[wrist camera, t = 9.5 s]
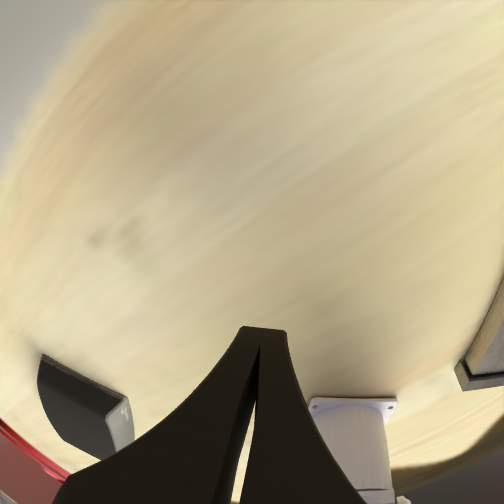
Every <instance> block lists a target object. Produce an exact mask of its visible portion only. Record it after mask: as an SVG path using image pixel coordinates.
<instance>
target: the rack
mask: <svg viewBox="0 0 504 504" xmlns="http://www.w3.org/2000/svg"><path fill="white" fill-rule="evenodd" d="M464 359H465V361H459V363H458V365H457V367H456V368H455V370H454V371H455V374H456V376H457V379H458V381H459V384H460V386H461V389H462V391H470V390H477V389H485V388H491V387H497V386H503V385H504V277H503V279H502V282H501V284H500V287H499V289H498V292H497V294H496V296H495V299H494V301H493V303H492V306H491V308H490V310H489V312H488V314H487V316H486V319H485V321H484V323H483V325H482V327H481V329H480V331H479V333H478V335H477V337H476V338H475V340H474V342H473V344H472V346H471V348H470V350H469V351H468V353H467V355H466V357H465V358H464Z"/></svg>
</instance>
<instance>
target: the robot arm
mask: <svg viewBox="0 0 504 504" xmlns="http://www.w3.org/2000/svg"><path fill="white" fill-rule="evenodd" d="M255 400H256V403H255ZM254 404H255V421H254V431H253V437H252V442H251V447H250V453H249V458H248V463H247V468H246V473H245V478H244V483H243V488H242V493H241V497H240V502H239V504H395V496H394V489H392V480H391V471H390V462H389V454H388V447H387V440H386V433H385V426H384V425H385V423H386V422H387V420H388V419H389V417H390V415H391V414H392V412H393V411H394V409H395V407H396V406H397V404H398V401H397V399H396V398H383V399H354V398H323V397H315V398H312V399H311V401H310V404H309V407H307V404H306V402H305V400H304V397H303V395H302V392H301V389H300V386H299V384H298V381H297V378H296V375H295V372H294V368H293V365H292V361H291V357H290V353H289V348H288V342H287V333H286V332H285V331H284V330H276V329H267V328H258V327H249V326H243V327H241V328H240V329H239V331H238V333H237V335H236V337H235V338H234V340H233V342H232V343H231V345H230V346H229V348H228V349H227V351H226V352H225V354H224V355H223V356H222V358H221V359H220V360H219V362H218V363H217V364H216V365H215V367H214V368H213V369H212V371H211V372H210V373H209V374H208V375H207V377H206V378H205V379H204V380H203V381H202V382H201V383H200V384H199V386H198V387H197V388H196V389H195V390H194V391H193V392H192V393H191V394H190V395H189V396H188V397H187V398H186V399H185V400H184V401H183V402H182V403H181V404H180V405H179V406H178V407H177V408H176V409H175V410H174V411H172V412H171V413H170V414H169V415H168V416H167V417H166V418H164V419H163V420H162V421H161V422H159V423H158V424H157V425H156V426H154V427H153V428H152V429H150V430H149V431H148V432H146V433H145V434H144V435H142V436H141V437H139V438H138V439H137V440H135V441H133V442H132V443H130V444H129V445H127V446H125V447H124V448H122V449H121V450H119V451H117V452H116V453H114V454H112V455H111V456H109V457H107V458H105V459H103V460H101V461H99V462H97V463H95V464H93V465H91V466H89V467H87V468H85V469H82V470H80V471H78V472H76V473H74V474H71V475H69V476H68V477H67V479H66V480H65V482H64V483H63V485H62V486H61V488H60V489H59V491H58V492H57V495H56V496H55V499H54V501H53V503H52V504H230V502H231V497H232V492H233V486H234V481H235V476H236V470H237V466H238V462H239V458H240V454H241V451H242V447H243V444H244V440H245V437H246V433H247V430H248V426H249V423H250V419H251V415H252V412H253V408H254ZM396 502H397V504H411V502H410V500H407V499H405V498H404V496H400V497H397V499H396ZM0 504H18V503H16V502H15V501H14V500H12V499H11V498H10V497H8V496H7V495H6V494H4V493H3V492H2V491H1V490H0Z"/></svg>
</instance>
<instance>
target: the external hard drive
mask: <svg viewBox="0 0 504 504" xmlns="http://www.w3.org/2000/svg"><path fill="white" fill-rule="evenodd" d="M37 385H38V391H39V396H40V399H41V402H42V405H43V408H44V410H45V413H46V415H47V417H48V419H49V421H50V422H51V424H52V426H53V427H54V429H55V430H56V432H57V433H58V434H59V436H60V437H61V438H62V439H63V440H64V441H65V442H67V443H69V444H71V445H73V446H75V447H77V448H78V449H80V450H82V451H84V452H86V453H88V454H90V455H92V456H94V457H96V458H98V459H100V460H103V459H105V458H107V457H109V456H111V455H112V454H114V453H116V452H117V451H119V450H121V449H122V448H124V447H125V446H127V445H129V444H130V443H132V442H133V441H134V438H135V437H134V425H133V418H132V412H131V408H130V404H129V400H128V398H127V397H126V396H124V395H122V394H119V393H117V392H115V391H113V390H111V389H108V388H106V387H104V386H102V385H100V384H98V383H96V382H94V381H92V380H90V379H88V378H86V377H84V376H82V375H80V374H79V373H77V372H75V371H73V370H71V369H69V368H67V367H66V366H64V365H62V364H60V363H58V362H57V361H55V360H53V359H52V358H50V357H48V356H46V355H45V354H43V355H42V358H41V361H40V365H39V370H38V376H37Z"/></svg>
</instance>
